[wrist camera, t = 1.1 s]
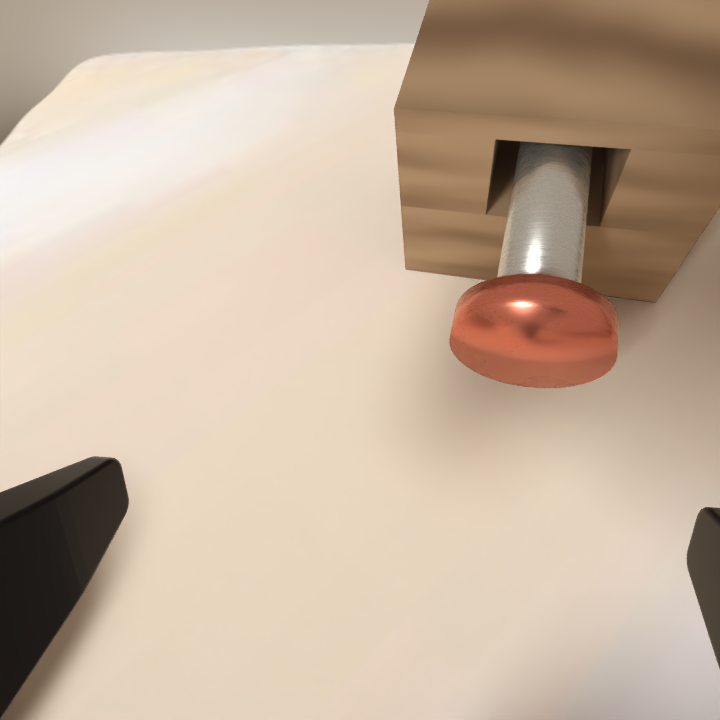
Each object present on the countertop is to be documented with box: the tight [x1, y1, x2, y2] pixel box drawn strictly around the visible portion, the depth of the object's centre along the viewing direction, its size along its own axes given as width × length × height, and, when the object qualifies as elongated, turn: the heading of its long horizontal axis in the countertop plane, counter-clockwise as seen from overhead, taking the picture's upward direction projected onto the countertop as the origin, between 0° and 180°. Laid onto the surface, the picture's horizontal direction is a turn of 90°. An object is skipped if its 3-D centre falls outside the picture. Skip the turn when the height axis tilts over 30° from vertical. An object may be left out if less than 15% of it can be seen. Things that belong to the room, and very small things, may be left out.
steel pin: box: [450, 141, 619, 388], centre depth 21 cm, size 16×5×5 cm, turn 166°
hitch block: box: [394, 0, 720, 302], centre depth 24 cm, size 8×12×10 cm, turn 76°
